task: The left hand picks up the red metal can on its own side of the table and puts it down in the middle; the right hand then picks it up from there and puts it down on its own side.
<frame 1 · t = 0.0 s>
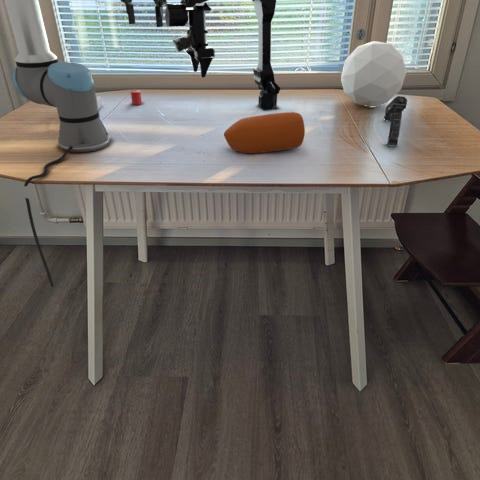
left hand: (145, 25, 154), 28 cm above the table, tool pointing down, fingers open, 13 cm apart
right hand: (199, 74, 146), 15 cm above the table, tool pointing down, fingers open, 9 cm apart
orange tapered rounded cylinder: (263, 148, 128), on the table
charger: (89, 108, 160), on the table
can: (137, 103, 166), on the table
decorative sphere: (367, 105, 168), on the table
futuristic handgun: (389, 134, 140), on the table
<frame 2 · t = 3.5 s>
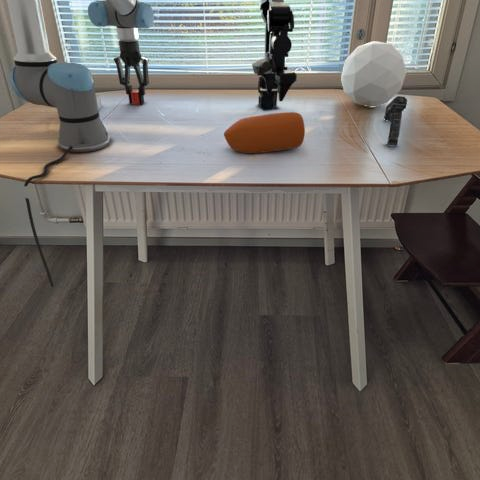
left hand: (137, 102, 166), 0 cm above the table, tool pointing down, fingers closed on can, 4 cm apart
right hand: (274, 97, 143), 9 cm above the table, tool pointing down, fingers open, 9 cm apart
can: (136, 103, 166), on the table, touching left hand
everything else where it was.
when the left hand's fingers open (1 cm above the table, at t = 7.9 s): can stays where it is, on the table.
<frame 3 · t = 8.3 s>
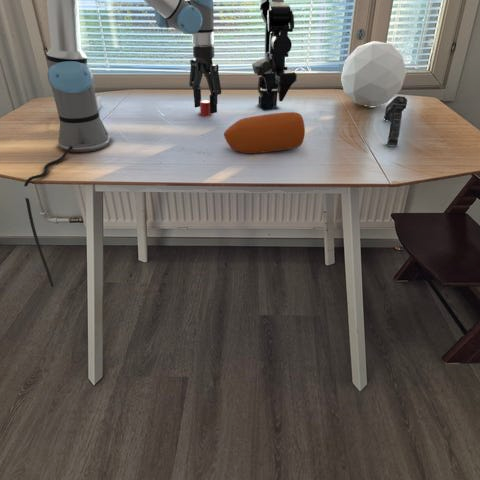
left hand: (205, 109, 154), 2 cm above the table, tool pointing down, fingers open, 9 cm apart
right hand: (274, 97, 143), 9 cm above the table, tool pointing down, fingers open, 9 cm apart
can: (205, 114, 155), on the table
everything else where it was.
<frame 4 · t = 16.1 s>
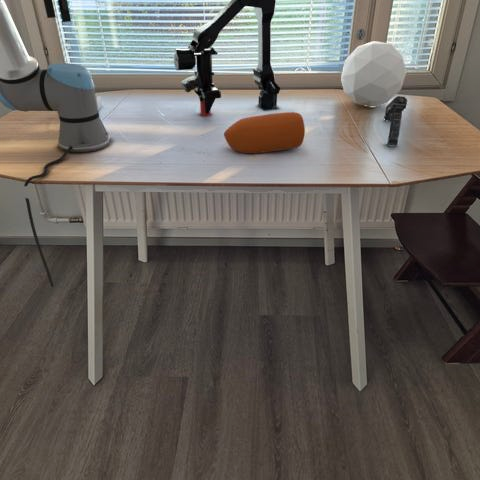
left hand: (59, 19, 139), 31 cm above the table, tool pointing down, fingers open, 13 cm apart
right hand: (205, 111, 155), 1 cm above the table, tool pointing down, fingers closed on can, 4 cm apart
can: (205, 114, 155), on the table, touching right hand
everything else where it was.
when the right hand's fingers open (2 cm above the table, at t = 20.8 s): can stays where it is, on the table.
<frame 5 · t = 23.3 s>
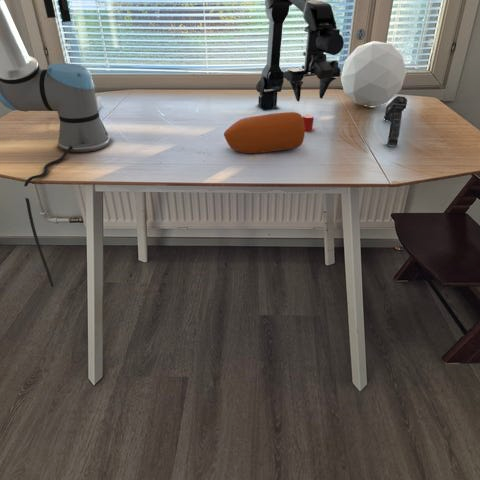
left hand: (59, 19, 139), 31 cm above the table, tool pointing down, fingers open, 13 cm apart
right hand: (309, 99, 137), 10 cm above the table, tool pointing down, fingers open, 9 cm apart
can: (306, 129, 143), on the table
everything else where it was.
at the end: can inside the target area (0.2 cm from its centre), on the table; can tilted 0°; the two hands never held the can at the same time; the left hand is holding nothing; the right hand is holding nothing; can at rest at the end (0.0 cm/s) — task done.
